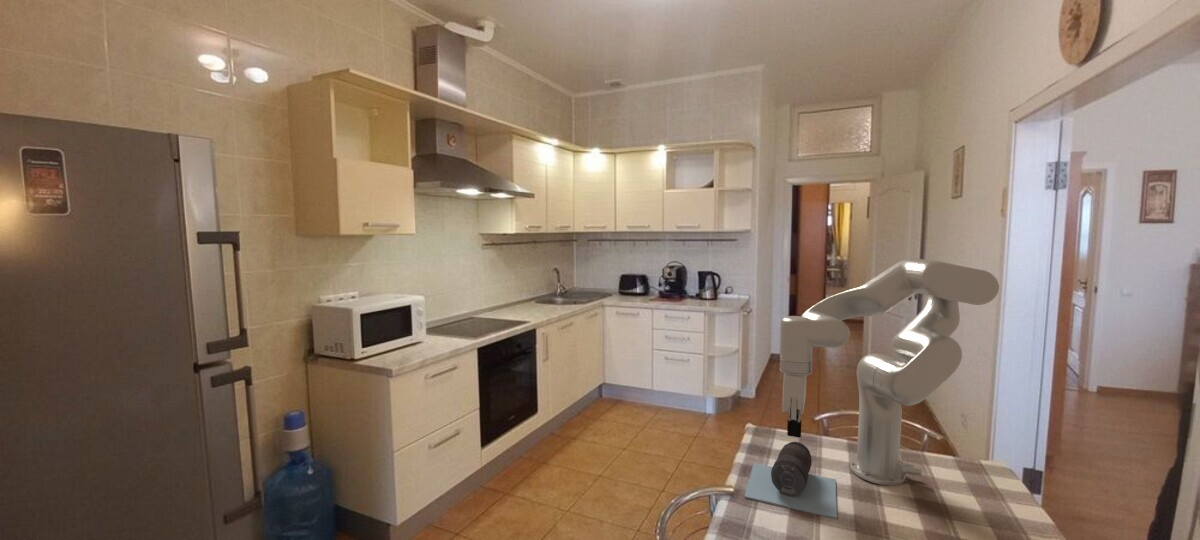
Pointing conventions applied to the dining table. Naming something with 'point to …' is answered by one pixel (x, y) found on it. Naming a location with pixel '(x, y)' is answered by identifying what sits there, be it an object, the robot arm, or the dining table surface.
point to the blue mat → (812, 499)
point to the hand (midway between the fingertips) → (794, 435)
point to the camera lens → (791, 468)
